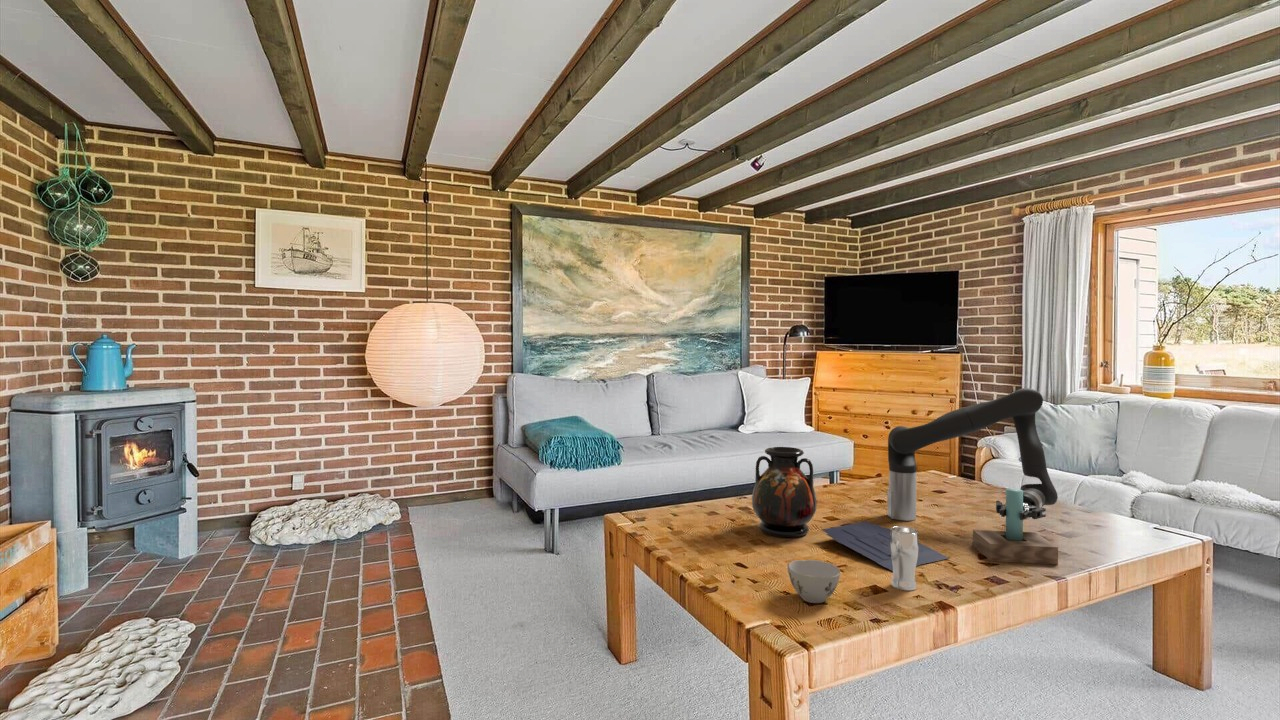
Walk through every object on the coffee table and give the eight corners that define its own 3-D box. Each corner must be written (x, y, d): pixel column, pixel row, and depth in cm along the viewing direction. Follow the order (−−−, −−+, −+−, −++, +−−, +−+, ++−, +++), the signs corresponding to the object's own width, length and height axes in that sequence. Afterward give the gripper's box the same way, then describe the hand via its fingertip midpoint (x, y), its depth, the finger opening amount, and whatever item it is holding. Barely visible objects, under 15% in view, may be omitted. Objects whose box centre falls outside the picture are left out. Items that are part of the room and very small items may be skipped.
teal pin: (1009, 544, 182) (1009, 491, 181) (1003, 539, 186) (1003, 488, 185) (1025, 545, 181) (1025, 492, 180) (1018, 540, 185) (1019, 488, 185)
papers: (868, 527, 206) (870, 517, 206) (949, 566, 180) (950, 555, 180) (815, 538, 195) (816, 527, 194) (893, 581, 169) (894, 569, 168)
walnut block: (990, 560, 178) (990, 543, 178) (972, 545, 192) (972, 529, 192) (1057, 564, 175) (1058, 547, 175) (1034, 548, 189) (1035, 532, 189)
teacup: (851, 602, 150) (851, 570, 149) (815, 614, 143) (815, 580, 143) (805, 581, 162) (805, 552, 162) (770, 591, 156) (770, 561, 156)
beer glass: (910, 580, 163) (910, 525, 163) (923, 591, 156) (923, 533, 156) (884, 581, 163) (885, 525, 162) (896, 591, 156) (897, 533, 155)
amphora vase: (747, 538, 199) (748, 453, 199) (755, 519, 220) (755, 443, 219) (816, 544, 193) (816, 456, 192) (817, 525, 214) (817, 446, 213)
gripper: (1000, 488, 198) (985, 498, 186) (1052, 495, 188) (1040, 506, 176) (1000, 511, 198) (985, 522, 186) (1052, 519, 188) (1039, 532, 176)
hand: (1012, 515), depth 181 cm, fingers closed on teal pin, 4 cm apart
